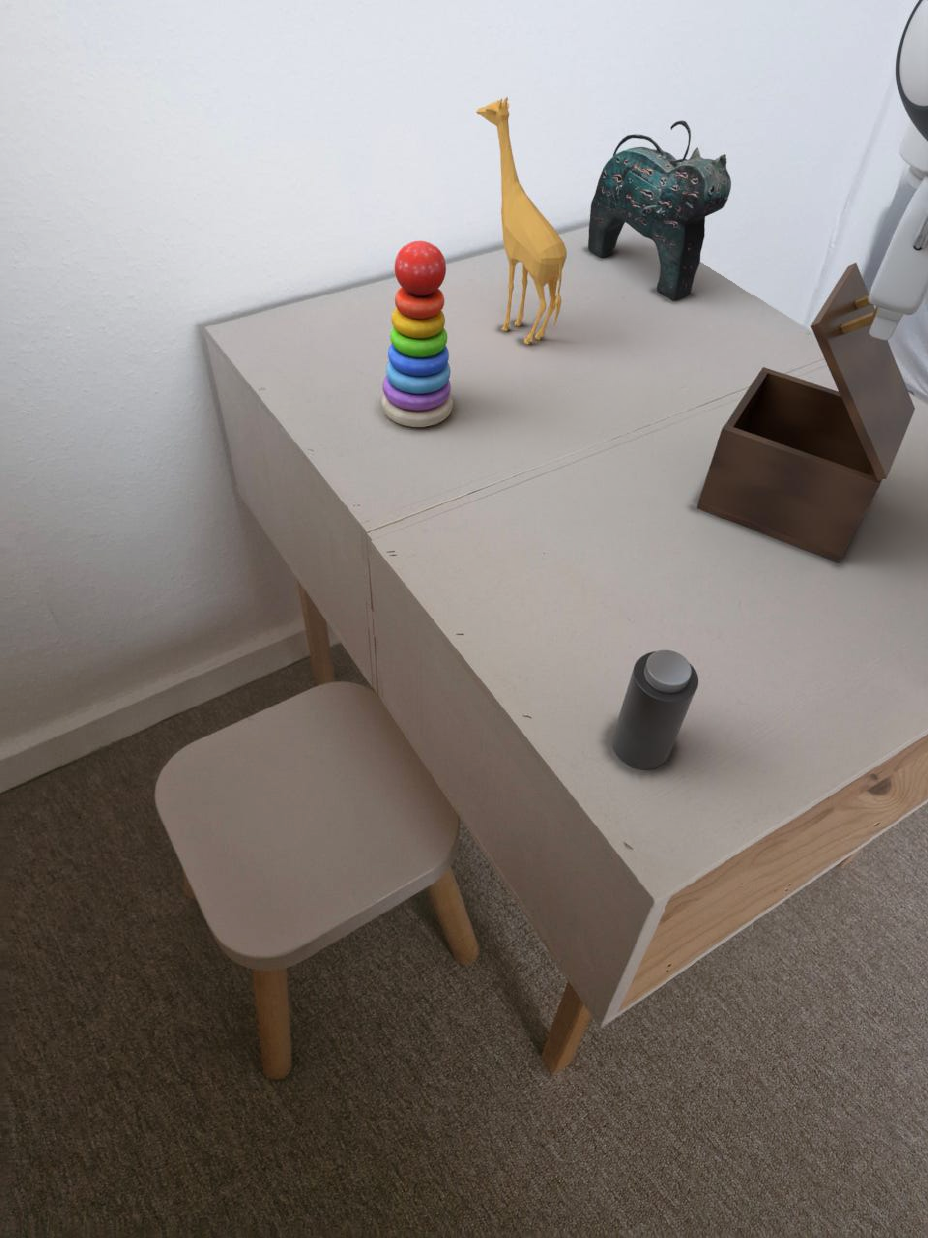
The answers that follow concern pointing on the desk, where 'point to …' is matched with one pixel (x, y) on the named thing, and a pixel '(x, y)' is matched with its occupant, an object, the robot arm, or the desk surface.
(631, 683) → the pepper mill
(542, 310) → the giraffe
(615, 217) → the ceramic cat
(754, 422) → the chest
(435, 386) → the stacking toy
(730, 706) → the desk surface
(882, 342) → the chest door
